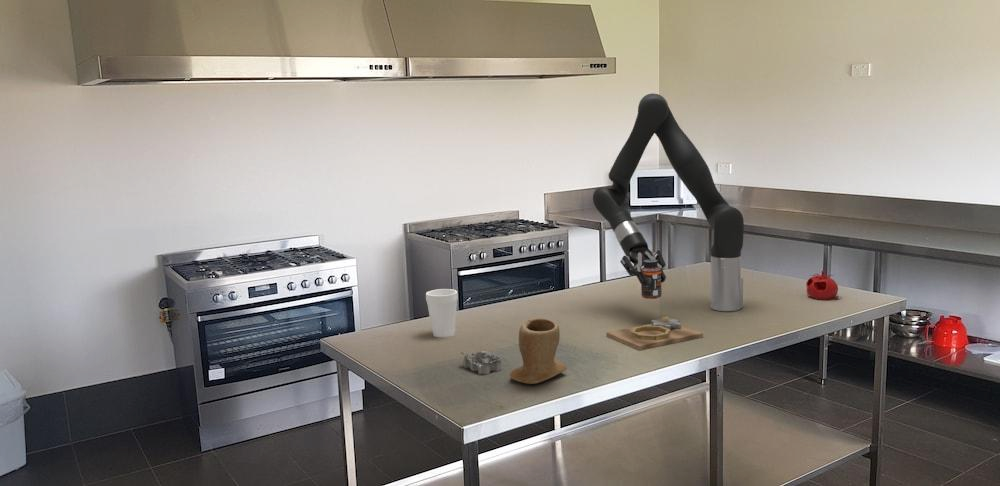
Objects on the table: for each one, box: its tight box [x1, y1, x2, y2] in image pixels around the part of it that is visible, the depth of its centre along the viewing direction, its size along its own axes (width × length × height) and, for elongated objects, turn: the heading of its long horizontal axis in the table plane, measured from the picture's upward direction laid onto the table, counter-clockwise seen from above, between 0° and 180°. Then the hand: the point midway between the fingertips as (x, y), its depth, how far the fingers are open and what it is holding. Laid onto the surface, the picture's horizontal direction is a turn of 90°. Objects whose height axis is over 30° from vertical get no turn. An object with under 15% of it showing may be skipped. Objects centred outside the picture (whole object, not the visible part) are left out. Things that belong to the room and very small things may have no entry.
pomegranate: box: [805, 270, 839, 300], centre depth 259 cm, size 10×10×9 cm
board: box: [605, 316, 704, 351], centre depth 223 cm, size 22×16×4 cm
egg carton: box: [460, 350, 503, 375], centre depth 202 cm, size 11×8×4 cm
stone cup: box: [509, 317, 568, 385], centre depth 191 cm, size 15×12×15 cm
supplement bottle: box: [640, 259, 662, 300], centre depth 235 cm, size 6×6×11 cm
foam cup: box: [425, 288, 459, 338], centre depth 234 cm, size 10×9×13 cm
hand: (654, 282), depth 234 cm, fingers closed on supplement bottle, 6 cm apart
